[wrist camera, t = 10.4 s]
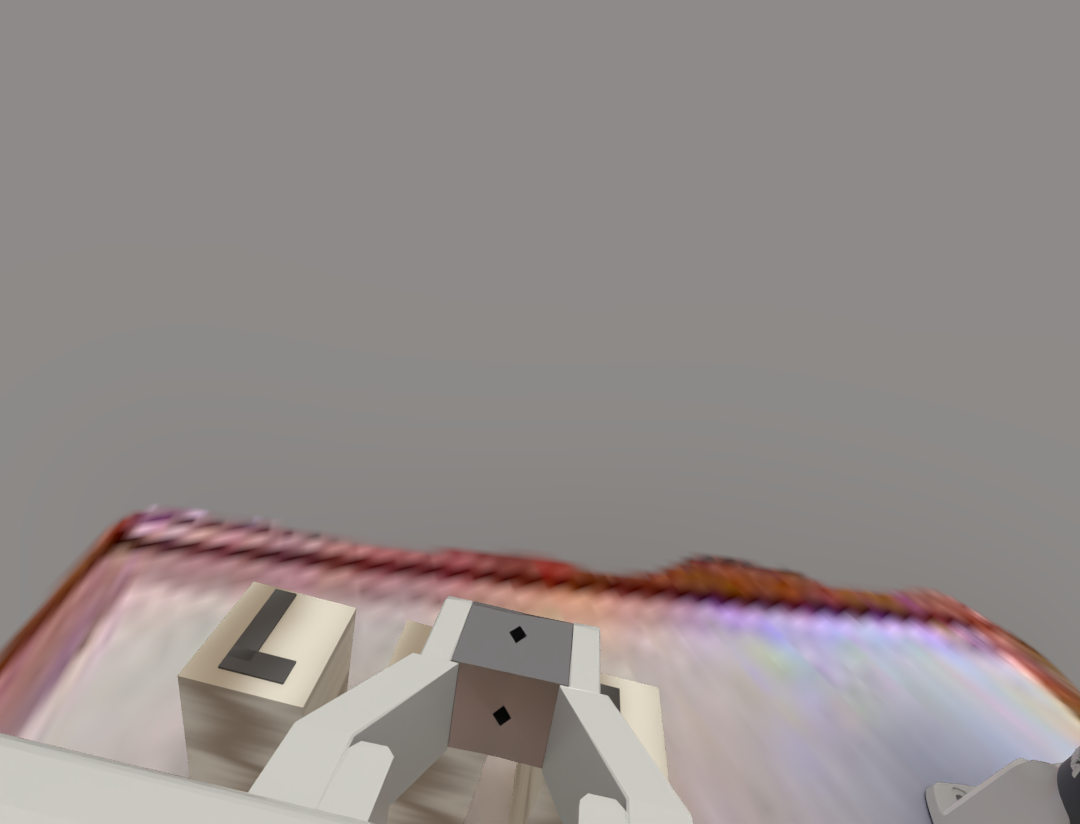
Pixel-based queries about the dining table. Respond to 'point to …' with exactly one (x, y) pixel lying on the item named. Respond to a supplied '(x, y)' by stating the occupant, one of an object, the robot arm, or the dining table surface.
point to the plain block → (435, 766)
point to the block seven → (261, 680)
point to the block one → (641, 709)
